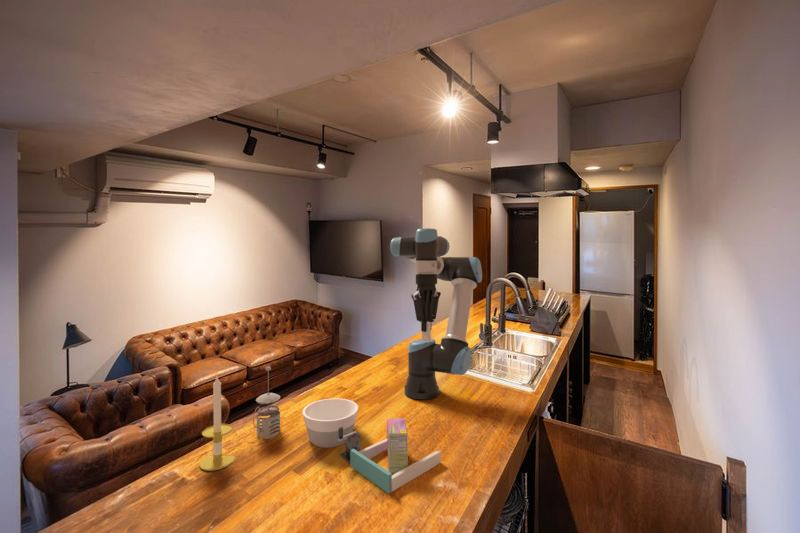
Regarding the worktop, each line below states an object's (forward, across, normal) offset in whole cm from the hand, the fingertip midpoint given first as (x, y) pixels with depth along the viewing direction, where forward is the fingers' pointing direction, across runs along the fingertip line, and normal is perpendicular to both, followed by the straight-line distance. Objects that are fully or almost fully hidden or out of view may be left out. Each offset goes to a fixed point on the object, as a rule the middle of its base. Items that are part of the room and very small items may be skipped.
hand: (426, 340), depth 125 cm
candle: (+34, -58, +34) cm, 76 cm away
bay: (+34, -19, -5) cm, 40 cm away
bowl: (+35, -25, +22) cm, 48 cm away
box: (+35, -18, -5) cm, 39 cm away
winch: (+34, -26, +8) cm, 44 cm away
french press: (+35, -41, +38) cm, 66 cm away
